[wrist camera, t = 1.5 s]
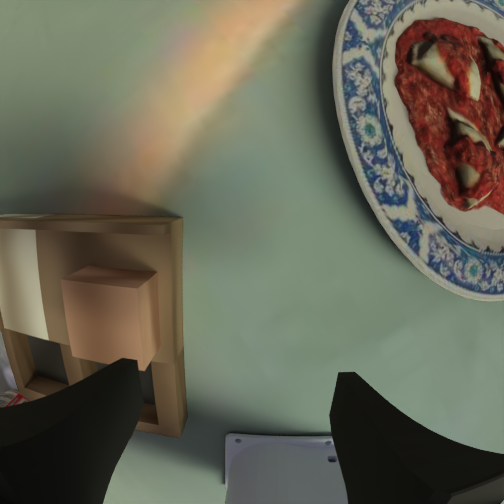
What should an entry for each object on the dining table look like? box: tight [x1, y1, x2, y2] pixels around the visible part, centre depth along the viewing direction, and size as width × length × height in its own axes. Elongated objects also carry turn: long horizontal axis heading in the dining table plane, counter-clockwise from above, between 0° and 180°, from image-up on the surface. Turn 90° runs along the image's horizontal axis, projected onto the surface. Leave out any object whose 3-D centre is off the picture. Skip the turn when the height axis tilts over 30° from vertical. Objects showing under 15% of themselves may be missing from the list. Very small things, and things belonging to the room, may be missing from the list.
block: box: [61, 266, 161, 371], centre depth 16 cm, size 4×4×3 cm
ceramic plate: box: [332, 0, 504, 301], centre depth 15 cm, size 26×26×3 cm
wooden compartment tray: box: [0, 214, 187, 438], centre depth 19 cm, size 15×15×4 cm
